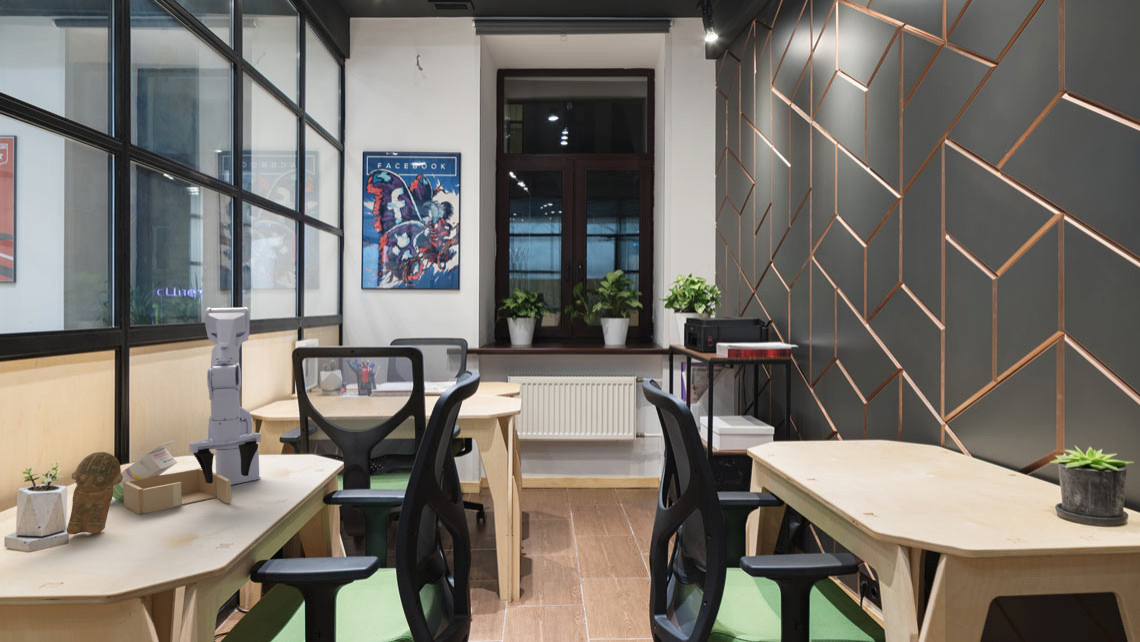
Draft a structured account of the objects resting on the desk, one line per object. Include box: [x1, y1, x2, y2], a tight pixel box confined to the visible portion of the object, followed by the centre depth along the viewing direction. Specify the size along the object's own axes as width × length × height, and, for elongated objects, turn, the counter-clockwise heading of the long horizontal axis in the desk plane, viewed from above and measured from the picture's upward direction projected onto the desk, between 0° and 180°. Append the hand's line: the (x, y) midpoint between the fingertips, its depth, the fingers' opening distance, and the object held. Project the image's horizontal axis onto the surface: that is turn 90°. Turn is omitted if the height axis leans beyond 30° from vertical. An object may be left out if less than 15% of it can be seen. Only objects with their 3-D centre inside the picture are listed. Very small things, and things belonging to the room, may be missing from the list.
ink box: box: [112, 439, 178, 502], centre depth 153 cm, size 9×5×15 cm
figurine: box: [66, 451, 123, 535], centre depth 127 cm, size 8×8×15 cm
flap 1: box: [142, 482, 183, 514], centre depth 141 cm, size 7×1×5 cm, turn 139°
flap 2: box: [216, 475, 232, 504], centre depth 147 cm, size 7×1×5 cm, turn 44°
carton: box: [123, 467, 219, 515], centre depth 148 cm, size 16×11×5 cm
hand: (227, 478), depth 146 cm, fingers open, 7 cm apart
